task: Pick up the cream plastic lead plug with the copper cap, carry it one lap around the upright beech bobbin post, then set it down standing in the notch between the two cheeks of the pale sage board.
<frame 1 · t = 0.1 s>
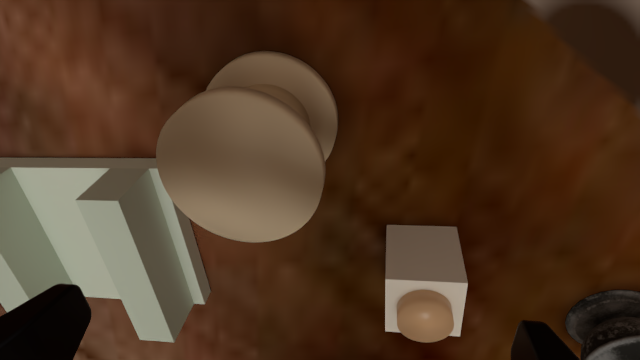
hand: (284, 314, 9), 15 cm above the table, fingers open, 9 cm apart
flange bolt: (610, 317, 27), on the table
bobbin: (272, 117, 22), on the table
notch board: (103, 228, 29), on the table
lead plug: (419, 251, 26), on the table
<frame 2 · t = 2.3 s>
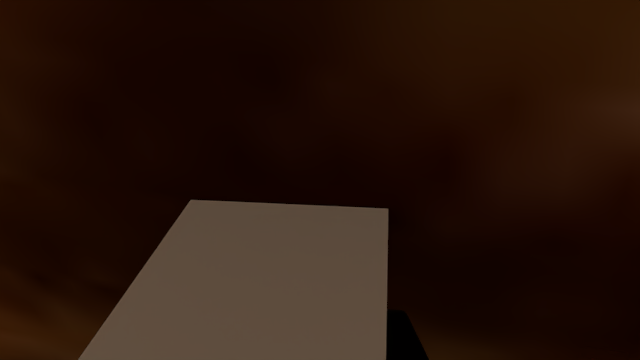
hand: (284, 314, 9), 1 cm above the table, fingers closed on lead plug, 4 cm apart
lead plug: (294, 277, 9), on the table, touching gripper
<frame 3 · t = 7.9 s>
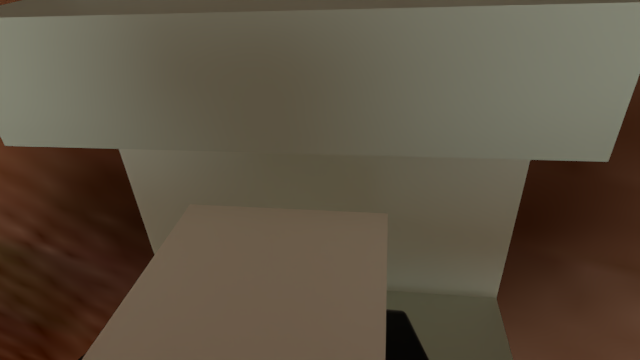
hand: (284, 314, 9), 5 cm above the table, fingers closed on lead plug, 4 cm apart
notch board: (319, 179, 13), on the table
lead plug: (293, 281, 9), point 4 cm above the table, touching gripper
when the fingers open (4 cm above the table, at t = 8.6 s): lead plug drops 1 cm, resting on notch board.
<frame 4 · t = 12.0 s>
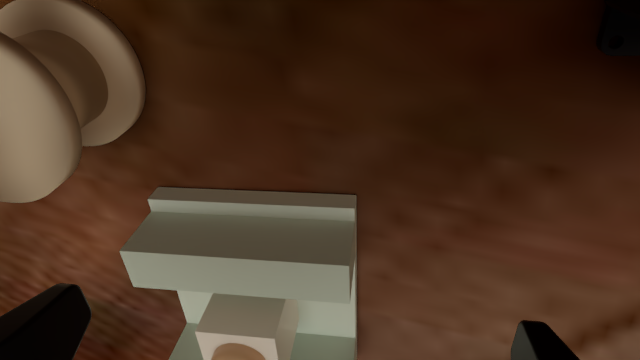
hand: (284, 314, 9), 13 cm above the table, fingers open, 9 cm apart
bobbin: (75, 71, 20), on the table
notch board: (267, 278, 26), on the table
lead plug: (263, 293, 25), point 1 cm above the table, touching notch board
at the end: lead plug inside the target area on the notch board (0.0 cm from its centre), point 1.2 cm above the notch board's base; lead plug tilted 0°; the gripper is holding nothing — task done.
